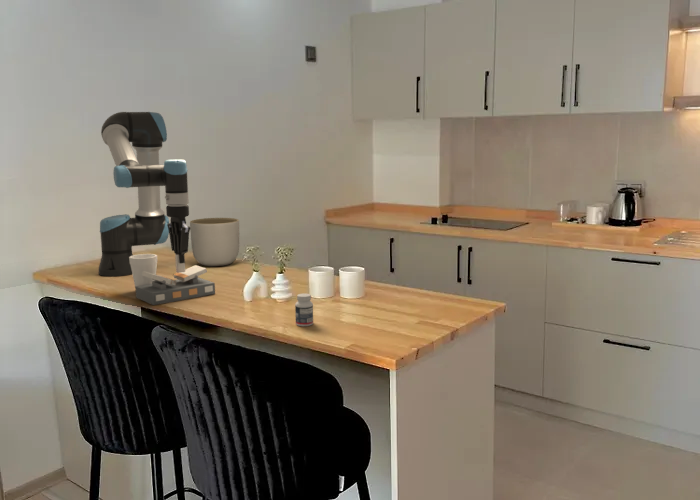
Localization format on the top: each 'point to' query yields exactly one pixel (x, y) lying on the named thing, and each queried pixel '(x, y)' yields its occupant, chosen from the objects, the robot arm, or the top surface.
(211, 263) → the planter
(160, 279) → the block
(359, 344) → the top surface
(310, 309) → the pill bottle
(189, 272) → the panel
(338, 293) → the top surface
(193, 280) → the switch unit
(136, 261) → the foam cup
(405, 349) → the top surface
